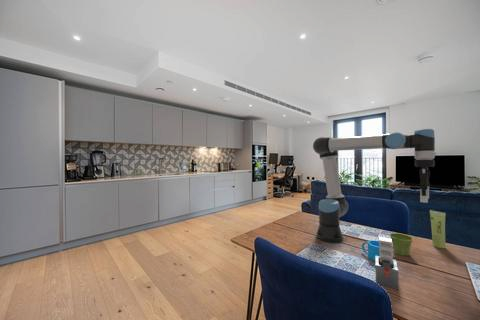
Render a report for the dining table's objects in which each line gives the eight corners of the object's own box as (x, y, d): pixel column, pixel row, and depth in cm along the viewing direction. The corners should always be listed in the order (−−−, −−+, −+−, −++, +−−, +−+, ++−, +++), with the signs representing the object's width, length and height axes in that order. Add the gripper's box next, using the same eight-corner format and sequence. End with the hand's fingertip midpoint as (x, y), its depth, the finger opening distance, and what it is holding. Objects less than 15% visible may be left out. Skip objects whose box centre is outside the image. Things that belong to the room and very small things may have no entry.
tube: (431, 246, 106) (430, 211, 106) (430, 243, 110) (429, 209, 110) (446, 249, 103) (445, 213, 103) (444, 246, 106) (443, 211, 107)
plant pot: (408, 259, 93) (407, 241, 93) (386, 251, 102) (385, 235, 102) (417, 254, 98) (416, 237, 98) (395, 247, 106) (394, 231, 106)
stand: (358, 283, 76) (358, 258, 76) (360, 269, 86) (360, 247, 86) (420, 301, 66) (419, 273, 66) (414, 283, 76) (413, 258, 76)
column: (380, 281, 75) (379, 240, 75) (380, 274, 79) (379, 236, 79) (393, 285, 72) (392, 243, 73) (392, 278, 77) (391, 238, 77)
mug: (392, 263, 91) (392, 245, 91) (381, 267, 87) (381, 249, 87) (367, 252, 102) (367, 236, 102) (356, 255, 98) (356, 239, 99)
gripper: (434, 159, 88) (434, 205, 88) (435, 159, 105) (435, 197, 105) (412, 159, 93) (412, 203, 94) (416, 159, 111) (417, 195, 111)
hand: (424, 200), depth 99 cm, fingers open, 13 cm apart
